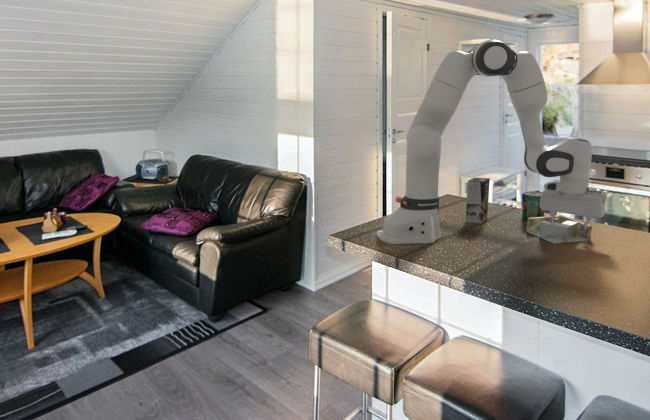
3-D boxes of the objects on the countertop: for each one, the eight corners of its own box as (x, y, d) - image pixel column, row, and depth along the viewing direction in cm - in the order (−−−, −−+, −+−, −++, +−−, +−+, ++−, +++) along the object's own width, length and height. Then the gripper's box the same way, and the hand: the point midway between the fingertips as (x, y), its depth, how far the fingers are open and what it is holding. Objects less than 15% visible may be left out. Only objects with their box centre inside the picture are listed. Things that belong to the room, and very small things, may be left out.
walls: (553, 243, 170) (555, 229, 169) (526, 231, 184) (527, 217, 183) (590, 240, 173) (592, 225, 172) (560, 228, 187) (562, 215, 186)
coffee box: (481, 224, 195) (484, 182, 191) (464, 222, 198) (466, 180, 194) (488, 218, 202) (490, 178, 198) (471, 216, 206) (473, 176, 202)
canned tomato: (547, 224, 193) (549, 195, 190) (525, 224, 193) (528, 195, 190) (538, 218, 201) (541, 191, 198) (518, 219, 201) (520, 191, 198)
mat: (553, 243, 170) (554, 242, 170) (526, 231, 184) (526, 230, 184) (590, 240, 173) (590, 239, 173) (560, 228, 187) (560, 227, 187)
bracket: (566, 242, 170) (567, 227, 169) (539, 237, 176) (540, 222, 175) (576, 236, 176) (577, 222, 175) (549, 231, 182) (551, 217, 181)
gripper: (610, 189, 167) (605, 230, 170) (547, 181, 181) (543, 219, 184) (604, 192, 162) (598, 234, 166) (539, 183, 176) (535, 222, 180)
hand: (569, 226), depth 175 cm, fingers open, 8 cm apart
